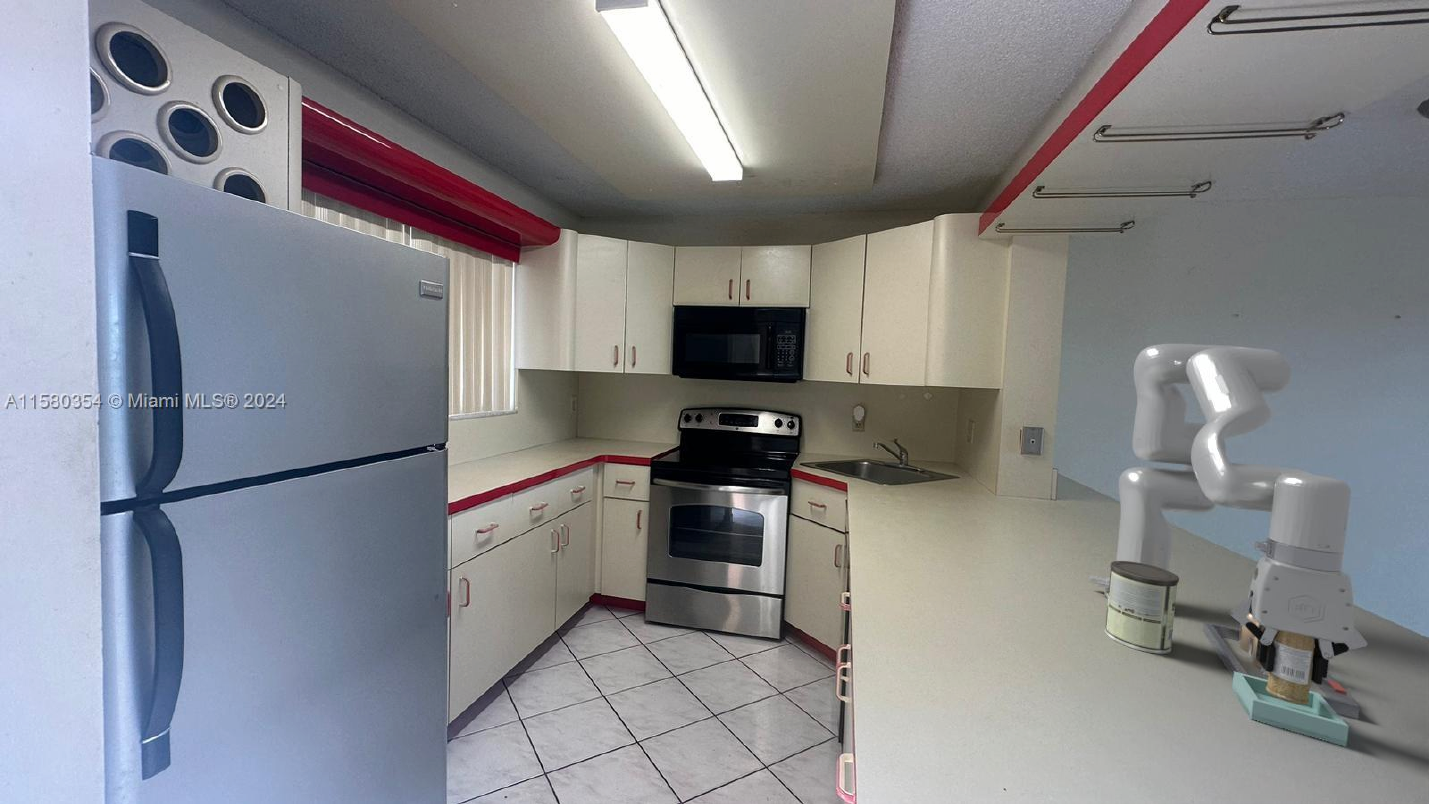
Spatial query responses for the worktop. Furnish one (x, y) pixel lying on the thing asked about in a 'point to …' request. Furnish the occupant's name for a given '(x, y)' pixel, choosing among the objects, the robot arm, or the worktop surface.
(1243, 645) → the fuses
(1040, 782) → the worktop surface
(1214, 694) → the worktop surface
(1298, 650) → the sprinkles bottle
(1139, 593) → the coffee can
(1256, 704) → the tray
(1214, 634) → the frame
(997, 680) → the worktop surface
